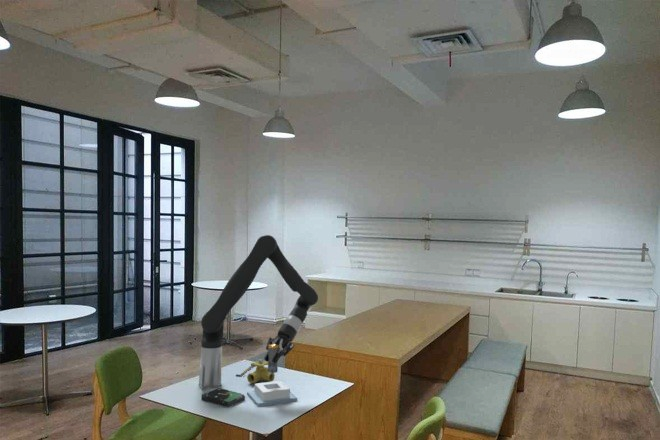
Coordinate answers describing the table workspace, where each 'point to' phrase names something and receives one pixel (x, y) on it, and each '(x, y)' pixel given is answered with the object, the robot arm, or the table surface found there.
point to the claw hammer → (245, 371)
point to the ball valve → (260, 373)
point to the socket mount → (271, 393)
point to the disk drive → (223, 397)
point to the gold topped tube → (271, 353)
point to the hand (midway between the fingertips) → (269, 361)
